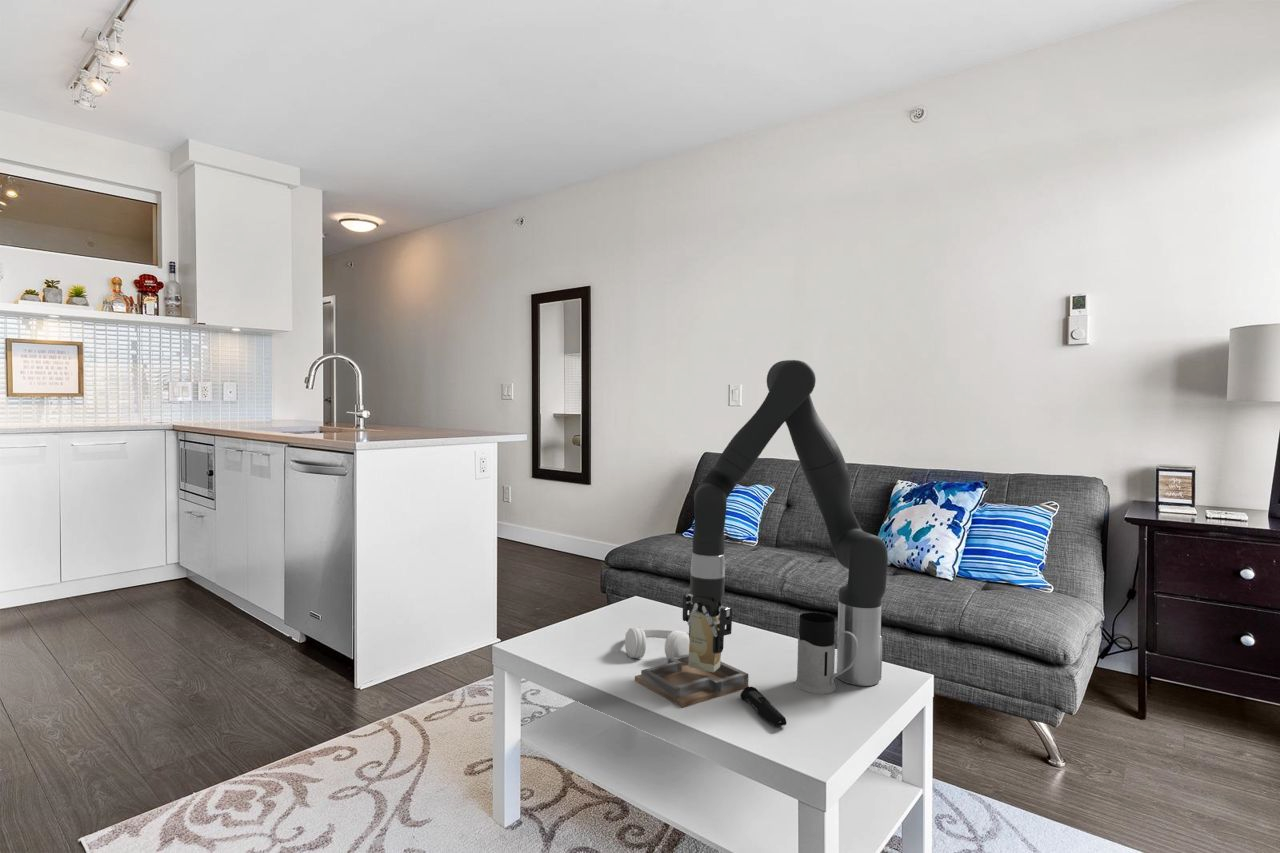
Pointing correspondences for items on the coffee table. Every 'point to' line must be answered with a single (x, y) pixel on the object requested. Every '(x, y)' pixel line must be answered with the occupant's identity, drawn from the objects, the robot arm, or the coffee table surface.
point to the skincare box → (702, 644)
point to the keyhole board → (691, 681)
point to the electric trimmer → (763, 706)
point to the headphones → (637, 636)
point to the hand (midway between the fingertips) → (705, 647)
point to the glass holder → (818, 653)
